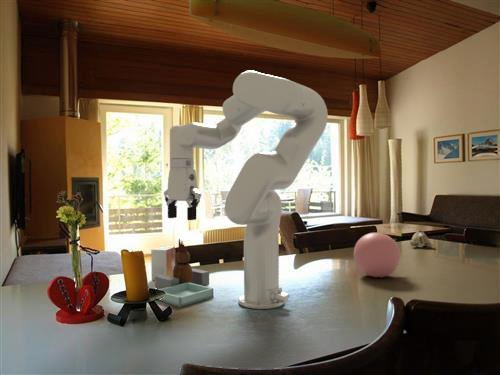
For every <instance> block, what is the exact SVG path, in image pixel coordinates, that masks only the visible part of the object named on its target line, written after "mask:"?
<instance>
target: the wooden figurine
mask: <svg viewBox="0 0 500 375" xmlns="http://www.w3.org/2000/svg"><path fill="white" fill-rule="evenodd" d="M183 243H184V242H183V240H181V239H180V238H178V250H177V252H175V266H174V269H173V277H174V278H178V279H179V284H183V283H187V282H189V283H191V280H192V268H193V267H192V265H191V264H190V263H189V262H190V261H191V254H190V252H189V251H187V247H186V246H185V244H183Z"/></svg>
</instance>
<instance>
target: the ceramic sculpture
mask: <svg viewBox="0 0 500 375" xmlns="http://www.w3.org/2000/svg"><path fill="white" fill-rule="evenodd" d="M409 243H410V246H411V247H413V246H415V247H417V245H418V246H426V247H427V246H428V247H427V248H432V247H433V246H434V243H433V241H432V240H430V239H429V238H428V236H427V234H425V232H424V231H423V230H418V231H416V232H415V233H414V234H413V235H412V237H411V240H410V241H409Z"/></svg>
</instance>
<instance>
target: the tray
mask: <svg viewBox="0 0 500 375" xmlns="http://www.w3.org/2000/svg"><path fill="white" fill-rule="evenodd" d="M159 290H162V291H165V292H166V295H165V297H164V298H162V299H161V301H160V302H162V301H163V303H165V302H166V304H168V305H170V306H176V307H178V308H181V307H185V306H188V305H192V304H195V303H198V302H202V301H205V300H209V299H212V298H214V288H213V287H208V286H206V285H203V286H202V285H198V284H193V283H189V282H187V283H183V284H179V285H175V286H171V287H167V288H163V289H159Z"/></svg>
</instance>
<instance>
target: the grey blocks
mask: <svg viewBox="0 0 500 375" xmlns="http://www.w3.org/2000/svg"><path fill="white" fill-rule="evenodd" d="M191 268H192V280H191V283H193V284H197V285H201V286H206V285H210V271H208V270H202V269H198V268H193V267H191ZM175 285H179V279H178V278H174V277H170V276H166V275H159V276H155V280H154V289H155V288H157V289H163V288H167V287H171V286H175Z"/></svg>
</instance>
